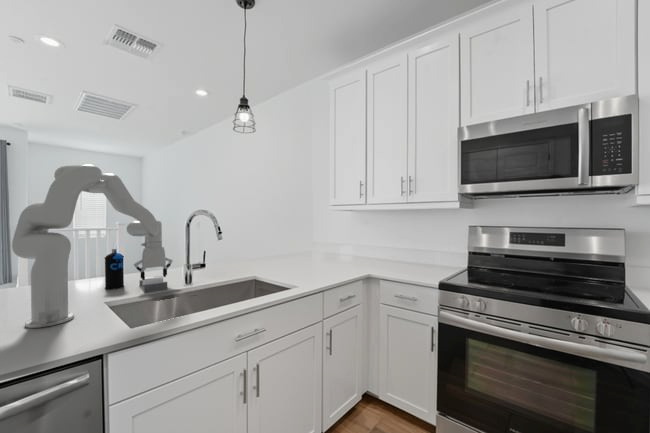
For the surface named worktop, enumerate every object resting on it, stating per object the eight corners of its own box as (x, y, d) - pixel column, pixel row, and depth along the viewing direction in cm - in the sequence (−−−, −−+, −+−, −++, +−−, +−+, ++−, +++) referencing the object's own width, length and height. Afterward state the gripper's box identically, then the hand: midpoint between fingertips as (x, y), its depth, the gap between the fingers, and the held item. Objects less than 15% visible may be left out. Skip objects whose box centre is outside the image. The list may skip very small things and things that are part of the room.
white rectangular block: (143, 282, 149) (142, 277, 149) (163, 280, 154) (163, 275, 154) (142, 284, 145) (142, 279, 145) (163, 282, 149) (163, 277, 149)
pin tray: (167, 289, 147) (167, 282, 147) (144, 292, 140) (144, 285, 140) (160, 283, 159) (160, 277, 159) (139, 286, 152) (139, 279, 152)
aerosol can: (100, 289, 148) (100, 249, 147) (116, 285, 155) (116, 247, 155) (112, 290, 145) (112, 250, 145) (128, 286, 153) (127, 248, 153)
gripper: (134, 247, 141) (135, 282, 141) (173, 244, 152) (174, 276, 152) (132, 245, 146) (133, 279, 147) (170, 242, 158) (170, 274, 158)
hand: (154, 278), depth 150 cm, fingers open, 9 cm apart
